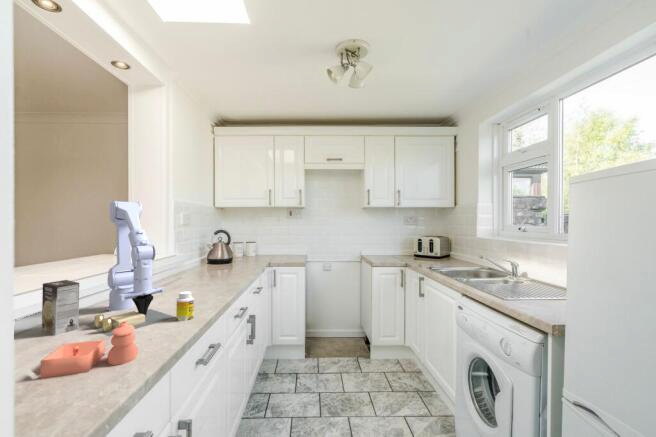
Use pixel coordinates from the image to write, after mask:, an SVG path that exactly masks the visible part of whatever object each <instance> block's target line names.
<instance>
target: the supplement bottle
mask: <svg viewBox="0 0 656 437" xmlns="http://www.w3.org/2000/svg"><path fill="white" fill-rule="evenodd" d="M178 295H179V296H178V298H176V316H175V318H176V321H177V322H186V321H190V320H193V319H194V309H195V308H194V305H195V304H194V301H195V298H194V297H193V296H192V291H190V290H189V291H181V292H179V294H178Z"/></svg>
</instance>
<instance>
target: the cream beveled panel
mask: <svg viewBox="0 0 656 437" xmlns="http://www.w3.org/2000/svg"><path fill="white" fill-rule="evenodd" d="M107 318H112V327H114V328H116V327H118V326H120V322H124V321H127V325H132V326H133V325H137V324H140V323H144V322H145V315H144V314H141V313H138V311H135V310H133V311H129V312H124V313H120V314H116V315H112V316H108V317H107Z"/></svg>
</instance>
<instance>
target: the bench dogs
mask: <svg viewBox="0 0 656 437" xmlns="http://www.w3.org/2000/svg"><path fill="white" fill-rule="evenodd" d="M93 323H94V329H93V330H95V329H101V328H102V333H101V334H103V333H108V332H111V331H112V318H108V317H105V316H104V314H96V315H94V322H93Z"/></svg>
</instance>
